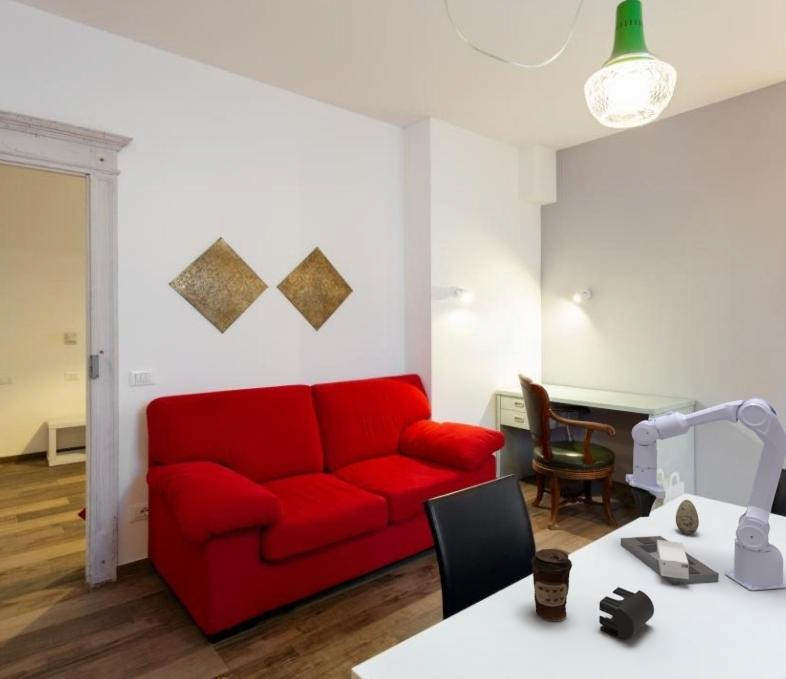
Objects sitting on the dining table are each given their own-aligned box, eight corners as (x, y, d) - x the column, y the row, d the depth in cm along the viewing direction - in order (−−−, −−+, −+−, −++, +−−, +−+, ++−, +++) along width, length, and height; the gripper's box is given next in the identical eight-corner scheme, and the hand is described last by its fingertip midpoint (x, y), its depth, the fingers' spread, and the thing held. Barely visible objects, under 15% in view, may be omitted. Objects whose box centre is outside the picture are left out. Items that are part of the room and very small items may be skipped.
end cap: (633, 648, 99) (634, 613, 99) (597, 631, 105) (598, 599, 104) (654, 627, 106) (654, 595, 106) (620, 613, 111) (620, 582, 111)
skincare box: (657, 554, 134) (659, 577, 123) (656, 538, 134) (659, 559, 123) (684, 558, 132) (689, 581, 121) (683, 541, 132) (688, 562, 121)
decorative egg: (702, 537, 150) (703, 503, 149) (682, 537, 150) (682, 503, 149) (691, 529, 156) (691, 496, 155) (671, 529, 156) (672, 496, 155)
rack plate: (660, 542, 146) (660, 535, 146) (718, 581, 124) (718, 573, 124) (620, 545, 145) (620, 537, 145) (672, 585, 123) (672, 576, 123)
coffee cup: (574, 628, 106) (575, 566, 105) (532, 623, 107) (532, 562, 107) (568, 605, 114) (569, 547, 114) (529, 601, 116) (530, 544, 115)
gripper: (615, 459, 145) (615, 507, 145) (647, 474, 131) (646, 527, 131) (639, 458, 146) (638, 505, 146) (673, 473, 131) (672, 526, 132)
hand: (644, 516), depth 139 cm, fingers closed
